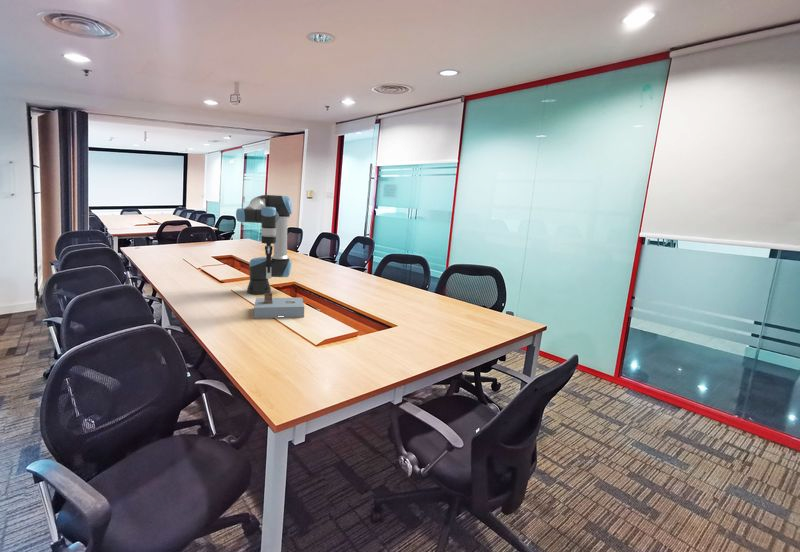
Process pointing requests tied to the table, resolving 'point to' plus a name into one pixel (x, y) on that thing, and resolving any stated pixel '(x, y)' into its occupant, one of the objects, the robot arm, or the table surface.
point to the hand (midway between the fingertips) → (268, 278)
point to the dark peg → (268, 298)
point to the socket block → (279, 308)
